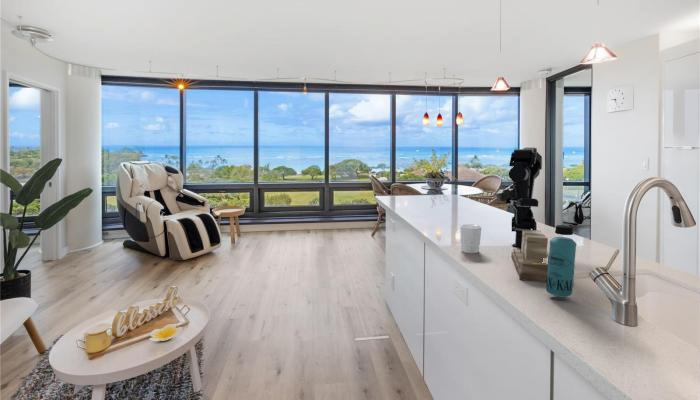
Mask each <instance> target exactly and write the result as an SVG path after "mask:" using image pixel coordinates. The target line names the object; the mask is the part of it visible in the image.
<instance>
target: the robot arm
mask: <svg viewBox="0 0 700 400" xmlns="http://www.w3.org/2000/svg"><path fill="white" fill-rule="evenodd" d="M508 167H511V168H510V170H509V171H508V177H509V179H510V181H512V184H511V185H509V188H506V189H503V190H502V191H497V192H495V195H496V196H495V197H496V198H497V199H496V200H497V201H498V202H502V204H508V207H510V209H512V211H513V216H512V217H511V232H515V238H514V239H515V240H514V241H515V243H513V244H511V247H515V248H521V246H522V230H537V231H538V229H537V221H536V218H535V217H534V216H535V215H534V212H533V210H532V208H533V207H535V208H537V207H538V208H539V200H538V199H537V198H533V195H534V194H533V193H534V186H535V180H536V179H537V178H538V177H539V175H540V173H541V170H542V168H543V157H542V155H541V153H539V152H538V149H537V147H523V148H522V149H521V148H514V150H513V151H512V152H511V156H510V160H509V166H508Z"/></svg>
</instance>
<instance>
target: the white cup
mask: <svg viewBox="0 0 700 400" xmlns="http://www.w3.org/2000/svg"><path fill="white" fill-rule="evenodd" d="M459 227H460V228H459V229H460V234H459V236H460V250H461V252H462V253H466V254H477V253H479V252H480V245H481V238H482V237H481V236H482V226H480V225H477V224H461V225H460V226H459Z"/></svg>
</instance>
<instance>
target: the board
mask: <svg viewBox="0 0 700 400" xmlns="http://www.w3.org/2000/svg"><path fill="white" fill-rule="evenodd" d="M510 257H511V260H512V262H513V266H514V267H515V270H516V273H517V276H518V278H519V280H520V281H528V282H529V281H531V282H538V283H539V282H540V283H541V282H542V283H546V278H547V271H548V264H546V263H533V262H532V263H529V262H525V261H524V259H523V257H522V255H521V252H520V250H519V248H513V251H511V256H510ZM547 257H548V258H549V254H547Z"/></svg>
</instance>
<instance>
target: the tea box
mask: <svg viewBox="0 0 700 400" xmlns="http://www.w3.org/2000/svg"><path fill="white" fill-rule="evenodd" d="M548 245H549V243H548V237H546V235H545V234H544V233H543V232H542V231H541V230H538V229H537V230H532V229H531V230H522V246H521V247H520V248H521V250H520V251H521V255H522V257H523V259H524V261H525V262H529V263H532V262H533V263H542V262H543V258H547V255H548Z"/></svg>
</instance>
